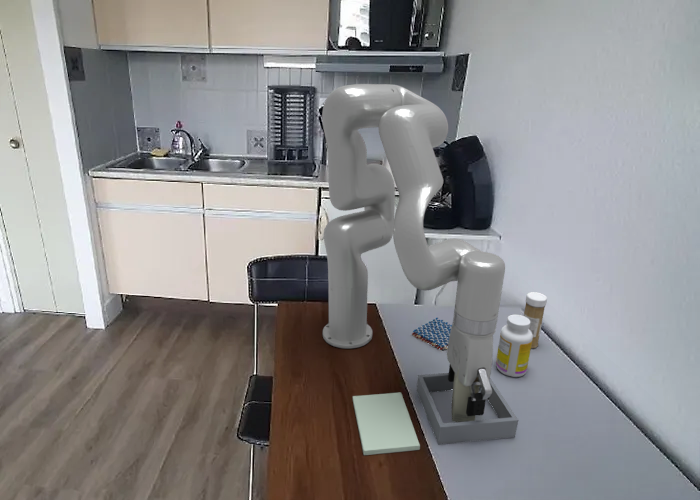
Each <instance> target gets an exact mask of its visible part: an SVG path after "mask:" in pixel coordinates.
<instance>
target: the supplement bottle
mask: <svg viewBox="0 0 700 500" xmlns="http://www.w3.org/2000/svg"><path fill="white" fill-rule="evenodd" d="M506 320H507V321H506V324H505V325H504V326H502V328H501V330H500V334H499V341H498V347H497V354H496V361H495V366H496V369H498V371H499V372H500V373H502V374H503V375H505V376H509V377H514V378H518V377H522V376H523V377H524V375H525V374H526V373H527V371H528V366H529V361H530V355H531V349H532V348H531V345H532V339H533V335H532V332H531V331H530V330H529V327H530V320H529V319H528V318H527V317H525V316H524V315H521V314H511V315H508V316H507V319H506Z"/></svg>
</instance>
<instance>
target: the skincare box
mask: <svg viewBox="0 0 700 500" xmlns="http://www.w3.org/2000/svg"><path fill="white" fill-rule="evenodd" d="M458 374H459V368H458V372H457V376H456V374H455V375H454V384H453V390H452V395H451V402H452V403H451V404H450V405H451V408H450V409H451V411H450V412H451V422H452V423H456V422H467V421H476V416H467V414H466V409H467V402H468V397H470V391H469V386H467V387H465V386H464V385H462V384H461V382H460V381H459V379H458ZM474 382H479V379H478V377H476V379H475V381H474ZM479 387H480V385H475V386H474V389H475V394H476V393H480V388H479Z"/></svg>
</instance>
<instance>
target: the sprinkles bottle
mask: <svg viewBox="0 0 700 500" xmlns="http://www.w3.org/2000/svg"><path fill="white" fill-rule="evenodd" d="M547 301H548V297H547V295H545V294H543V293H541V292H536V291H532V292H531V291H530V292H528V293H526V297H525V308H524V312H523V316H525V317H527V318H528V319H529V320H530V327H529V330H530V331H531V332H532V335H533V339H532V345H531V349H536V348H537V347H538V346H539V339H540V335H541V330H542V325H543V318H544V312H545V307H546V306H547Z"/></svg>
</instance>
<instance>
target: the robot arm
mask: <svg viewBox="0 0 700 500" xmlns="http://www.w3.org/2000/svg"><path fill="white" fill-rule="evenodd" d="M321 113H322V117H321V119H322V128H323V131H324V137H325V140H326V147H327V174H328V175H327V178H328V179H327V180H328V196H329V200H330V201H329V202H330V203H331V205H332V206H333V208H335V209H336V210H338V211H343V212H344V211H345V212H346V211H352V210H358V209H363V208H364V210H363V211H359V212H352V213H348V214H345V215H340V216H337V217H335V218H333V219H331V220H330V221H329V222H328V223H326V225H325V227H324V230H323V242H324V247H325V252H326V259H327V269H328V270H327V272H328V273H327V277H328V279H327V281H328V323H327V324H326V325H325V326H324V327H323V329H322V337H323V340H324V341H325V342H326V343H327V344H328V345H330V346H333V347H336V348H339V349H346V350H347V349H356V348H357V349H358V348H361V347H363V346H365V345H367V344H368V343H369V342H370V341H371V340H372V338H373V329H372V327H371V326H370V325H369V324H368V321H367V320H368V319H367V318H368V317H367V316H368V314H367V313H368V287H369V286H368V285H369V283H368V281H369V272H368V268H367V265H366V264H365V262H364V261H363V259H362V257H361V256H362V254H365V253H367V252H370V251H373V250H376V249H380V248H382V247H385V246H386V245H388V244H389V243H390V242H391V240H392V239H393V244H394V249H395V251H396V254H397V257H398V260H399V264H400V266H401V269H402V271H403V274H404V276H405V277H406V279H407V280H408V282H409V284H411V285H412V286H413V287H414V288H415V289H417V290H420V291H424V292H425V291H426V292H427V291H431V290H435V289H438V288H439V287H442V286H444V285H446V284H449V283H452V282H457V283H456V284H457V285H456V293H455V301H454V303H455V304H454V309H453V319H452V324H451V325H452V327H451V332H450V337H449V343H448V349H447V350H446V358H447V361H448V363H449V365H448V373H449V374H448V380H449V382H454V375H455V374H456V376H457V372H458V368H459V374H458V379H459V381H460V382H461V384H462V385H464V386H465V387H467V386H469V391H470V397H468V402H467V409H466V414H467V416H475V417H478V416H483V415H484V413H485V408H486V402H487V401H488V399H489V397H490V396H491V394H492V389H491V386H490V383H489V379H490V378H491V374H492V365H493V357H494V355H493V354H494V353H493V352H494V335H495V333H496V330H497V323H498V320H499V319H498V318H499V312H500V311H499V310H500V304H501V298H502V294H503V293H502V292H503V285H504V279H505V273H506V264H505V261H504V259H502V257H501V256H499V255H497V254H495V253H493V252H488V251H482V250H480V249H478V248H477V247H475V246H474V245H472V244H471V243H469V242H468V241H466V240H464V239H460V238H448V239H446V240H445V239H444V240H442V241H439V242H435V243H433V244H430V245H429V244H428V242H427V238H426V235H425V229H424V228H425V227H424V219H425V213H426V210H427V208H428V205H429V203H430V202H431V200H433V198H434V196H435V195H436V194H437V193H438V192H439V191H440V190H441V188H442V186H443V184H444V178H443V175H442V174H443V173H442V171H441V168H440V166H439V164H438V160H437V156H436V154H435V151H434V148H437V147H439V146H441V145H442V144H443V143H444V142H445V141H446V139H447V136H448V134H449V124H448V123H449V122H448V119H447V116H446V114H445V113H444V111H443V110H442V109H441V108H440V107H439V106H438V105H437V104H436V103H433V102H431V101H430V100H428V99H426V98H424V97H422V96H420V95H418V94H416V93H415V92H413V91H411V90H409V89H407V88H405V87H404V86H401V85H397V84H389V83H386V84H385V83H381V84H380V83H378V84H377V83H374V84H373V83H354V84H348V85H347V84H346V85H342V86H339V87H336V88H335V89H333V90H332V91H331V92H330V93H329V94H328V95H327V96H326V99H325V101H324V104H323V107H322V112H321ZM371 128H372V129H374V128H375V129H376V128H378V134H379V137H380V141H381V144H382V148H383V150H384V153H385V156H386V159H387V161H388V162H387V163H388V166H389V168H390V170H389V169H388V167H386V166H385V165H382V164H380V163H368V161H367V159H368V158H367V157H368V156H367V155H368V151H367V145H366V142H365V140H364V138H363V136H362V134H361V133H360V131H359V130H361V129H371ZM395 185H396V187H395ZM396 190H397V192H398V196H399V197H398V203H397V205H396V204H395V203H396V202H395V201H396V197H395V196H396ZM395 205H396V209H395ZM476 377H478V379H479V382H474V381H475V379H476ZM475 385H480V386H481V388H480V391H479V393H476V394H475V389H474V386H475Z"/></svg>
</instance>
